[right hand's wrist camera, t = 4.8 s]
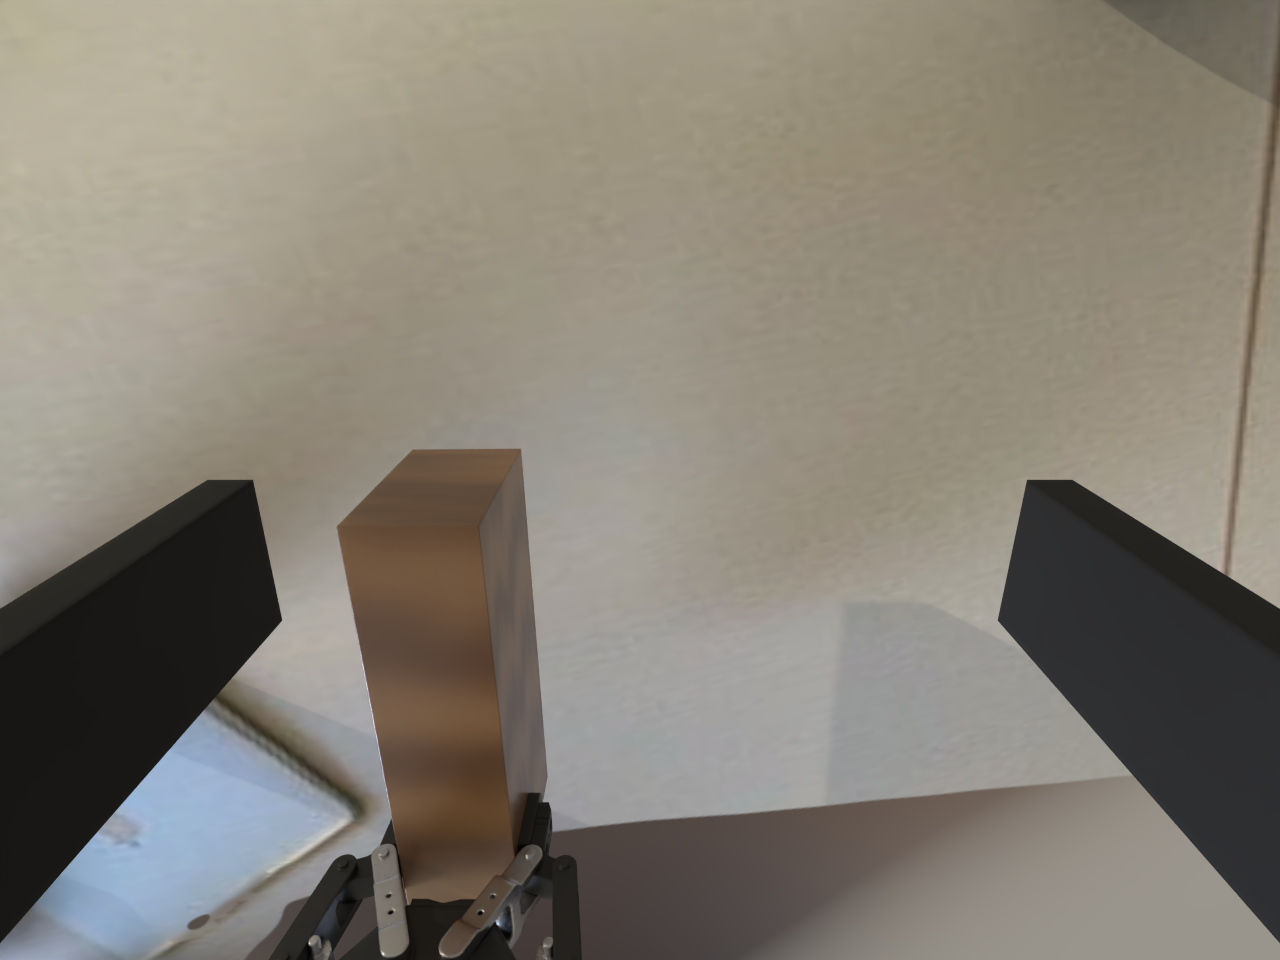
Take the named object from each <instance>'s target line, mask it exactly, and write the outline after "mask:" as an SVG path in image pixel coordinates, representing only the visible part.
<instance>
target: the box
mask: <svg viewBox="0 0 1280 960" xmlns="http://www.w3.org/2000/svg"><path fill="white" fill-rule="evenodd" d="M337 531H338V536H339V542H340V547H341V552H342V557H343V563H344V568H345V573H346V579H347V584H348V589H349V595H350V600H351V605H352V610H353V616H354V621H355V626H356V632H357V637H358V642H359V648H360V653H361V658H362V663H363V669H364V674H365V679H366V685H367V690H368V695H369V701H370V706H371V711H372V716H373V722H374V727H375V732H376V738H377V743H378V748H379V754H380V759H381V764H382V769H383V775H384V780H385V785H386V791H387V796H388V801H389V807H390V812H391V817H392V823H393V828H394V833H395V838H396V844H397V849H398V854H399V860H400V865H401V870H402V876H403V881H404V886H405V891H406V897H407V902H408V905H410V904H411V901H412V899H431V900H434V901H438V902H441V903H446V902H450V901H455V900H459V899H477V897H478V896H479V895H480V894H481V892H482V891H483V890H484V888H485V887H486V886H487V885H488V883H489V882H490V881H491V879H492V878H493V877H494V876H495V875H499V876H501V875H502V874H503V873H504V871H505V870H506V869H507V867H508V866H509V865H510V863H511V862H512V861H513V860H514V858H515V857H516V856H517V854H518V840H519V835H520V830H521V825H522V821H523V816H524V811H525V807H526V802H527V797H528V793H529V792H534V793H541V796H542V802H543V798H544V792H545V787H546V782H547V765H546V752H545V740H544V728H543V715H542V703H541V690H540V678H539V666H538V653H537V641H536V629H535V616H534V604H533V592H532V579H531V567H530V555H529V542H528V530H527V517H526V505H525V493H524V480H523V468H522V456H521V449H448V450H412V451H411V452H410V453H409V454H408V455H407V456H406V457H405V458H404V459H403V460H402V461H401V462H400V463H399V464H398V465H397V466H396V467H395V468H394V469H393V470H392V471H391V472H390V473H389V474H388V475H387V476H386V477H385V478H384V479H383V480H382V481H381V482H380V483H379V484H378V485H377V486H376V487H375V488H374V490H373V491H372V492H371V493H370V494H369V495H368V496H367V497H366V498H365V499H364V500H363V501H362V502H361V503H360V504H359V505H358V506H357V507H356V508H355V509H354V510H353V511H352V512H351V513H350V514H349V515H348V516H347V517H346V518H345V519H344V520H343V521H342V522H341V523H340V524H339V525H338V526H337Z"/></svg>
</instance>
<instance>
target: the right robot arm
mask: <svg viewBox="0 0 1280 960" xmlns="http://www.w3.org/2000/svg"><path fill="white" fill-rule="evenodd" d="M281 621H282V617H281V612H280V608H279V603H278V598H277V593H276V588H275V584H274V579H273V574H272V569H271V565H270V560H269V555H268V550H267V545H266V541H265V536H264V531H263V526H262V521H261V517H260V512H259V507H258V502H257V497H256V493H255V488H254V483H253V480H207V481H205V482H204V483H202V484H200V485H199V486H197V487H196V488H194V489H192V490H191V491H189V492H187V493H186V494H184V495H183V496H181V497H179V498H178V499H176V500H175V501H173V502H171V503H170V504H168V505H167V506H165V507H163V508H162V509H160V510H159V511H157V512H155V513H154V514H152V515H150V516H149V517H147V518H146V519H144V520H142V521H141V522H139V523H138V524H136V525H134V526H133V527H131V528H130V529H128V530H126V531H125V532H123V533H122V534H120V535H118V536H117V537H115V538H113V539H112V540H110V541H109V542H107V543H105V544H104V545H102V546H101V547H99V548H97V549H96V550H94V551H93V552H91V553H89V554H88V555H86V556H85V557H83V558H81V559H80V560H78V561H77V562H75V563H73V564H72V565H70V566H68V567H67V568H65V569H64V570H62V571H60V572H59V573H57V574H56V575H54V576H52V577H51V578H49V579H48V580H46V581H44V582H43V583H41V584H40V585H38V586H36V587H35V588H33V589H31V590H30V591H28V592H27V593H25V594H23V595H22V596H20V597H19V598H17V599H15V600H14V601H12V602H11V603H9V604H7V605H6V606H4V607H3V608H1V609H0V943H1V941H2V940H3V939H4V938H5V937H6V936H7V935H8V933H9V932H10V931H11V930H12V929H13V928H14V927H15V925H16V924H17V923H18V922H19V921H20V920H21V919H22V917H23V916H24V915H25V914H26V913H27V912H28V911H29V909H30V908H31V907H32V906H33V905H34V904H35V903H36V901H37V900H38V899H39V898H40V897H41V896H42V895H43V893H44V892H45V891H46V890H47V889H48V888H49V887H50V885H51V884H52V883H53V882H54V881H55V880H56V879H57V877H58V876H59V875H60V874H61V873H62V872H63V871H64V869H65V868H66V867H67V866H68V865H69V864H70V863H71V861H72V860H73V859H74V858H75V857H76V856H77V855H78V853H79V852H80V851H81V850H82V849H83V848H84V847H85V845H86V844H87V843H88V842H89V841H90V840H91V839H92V837H93V836H94V835H95V834H96V833H97V832H98V831H99V829H100V828H101V827H102V826H103V825H104V824H105V823H106V821H107V820H108V819H109V818H110V817H111V816H112V815H113V813H114V812H115V811H116V810H117V809H118V808H119V807H120V805H121V804H122V803H123V802H124V801H125V800H126V799H127V797H128V796H129V795H130V794H131V793H132V792H133V791H134V789H135V788H136V787H137V786H138V785H139V784H140V782H141V781H142V780H143V779H144V778H145V777H146V776H147V774H148V773H149V772H150V771H151V770H152V769H153V768H154V766H155V765H156V764H157V763H158V762H159V761H160V760H161V758H162V757H163V756H164V755H165V754H166V753H167V752H168V750H169V749H170V748H171V747H172V746H173V745H174V744H175V742H176V741H177V740H178V739H179V738H180V737H181V736H182V734H183V733H184V732H185V731H186V730H187V729H188V728H189V726H190V725H191V724H192V723H193V722H194V721H195V720H196V718H197V717H198V716H199V715H200V714H201V713H202V712H203V710H204V709H205V708H206V707H207V706H208V705H209V704H210V702H211V701H212V700H213V699H214V698H215V697H216V696H217V694H218V693H219V692H220V691H221V690H222V689H223V688H224V686H225V685H226V684H227V683H228V682H229V681H230V680H231V678H232V677H233V676H234V675H235V674H236V673H237V672H238V670H239V669H240V668H241V667H242V666H243V665H244V664H245V662H246V661H247V660H248V659H249V658H250V657H251V656H252V654H253V653H254V652H255V651H256V650H257V649H258V648H259V646H260V645H261V644H262V643H263V642H264V641H265V640H266V638H267V637H268V636H269V635H270V634H271V633H272V632H273V630H274V629H275V628H276V627H277V626H278V625H279V624H280V622H281ZM998 621H999V622H1000V624H1001V625H1002V626H1003V627H1004V628H1005V629H1006V630H1007V632H1008V633H1009V634H1010V635H1011V636H1012V637H1013V638H1014V640H1015V641H1016V642H1017V643H1018V644H1019V645H1020V646H1021V648H1022V649H1023V650H1024V651H1025V652H1026V653H1027V654H1028V656H1029V657H1030V658H1031V659H1032V660H1033V661H1034V662H1035V664H1036V665H1037V666H1038V667H1039V668H1040V669H1041V670H1042V672H1043V673H1044V674H1045V675H1046V676H1047V677H1048V678H1049V680H1050V681H1051V682H1052V683H1053V684H1054V685H1055V686H1056V688H1057V689H1058V690H1059V691H1060V692H1061V693H1062V694H1063V696H1064V697H1065V698H1066V699H1067V700H1068V701H1069V702H1070V704H1071V705H1072V706H1073V707H1074V708H1075V709H1076V710H1077V712H1078V713H1079V714H1080V715H1081V716H1082V717H1083V718H1084V720H1085V721H1086V722H1087V723H1088V724H1089V725H1090V726H1091V728H1092V729H1093V730H1094V731H1095V732H1096V733H1097V734H1098V736H1099V737H1100V738H1101V739H1102V740H1103V741H1104V742H1105V744H1106V745H1107V746H1108V747H1109V748H1110V749H1111V750H1112V752H1113V753H1114V754H1115V755H1116V756H1117V757H1118V758H1119V760H1120V761H1121V762H1122V763H1123V764H1124V765H1125V766H1126V768H1127V769H1128V770H1129V771H1130V772H1131V773H1132V774H1133V776H1134V777H1135V778H1136V779H1137V780H1138V781H1139V782H1140V784H1141V785H1142V786H1143V787H1144V788H1145V789H1146V791H1147V792H1148V793H1149V794H1150V795H1151V796H1152V797H1153V799H1154V800H1155V801H1156V802H1157V803H1158V804H1159V805H1160V807H1161V808H1162V809H1163V810H1164V811H1165V812H1166V813H1167V814H1168V816H1169V817H1170V818H1171V819H1172V820H1173V821H1174V822H1175V824H1176V825H1177V826H1178V827H1179V828H1180V829H1181V831H1182V832H1183V833H1184V834H1185V835H1186V836H1187V837H1188V839H1189V840H1190V841H1191V842H1192V843H1193V844H1194V845H1195V847H1196V848H1197V849H1198V850H1199V851H1200V852H1201V853H1202V855H1203V856H1204V857H1205V858H1206V859H1207V860H1208V861H1209V863H1210V864H1211V865H1212V866H1213V867H1214V868H1215V869H1216V871H1217V872H1218V873H1219V874H1220V875H1221V876H1222V877H1223V879H1224V880H1225V881H1226V882H1227V883H1228V884H1229V885H1230V887H1231V888H1232V889H1233V890H1234V891H1235V892H1236V893H1237V895H1238V896H1239V897H1240V898H1241V899H1242V900H1243V901H1244V903H1245V904H1246V905H1247V906H1248V907H1249V908H1250V909H1251V911H1252V912H1253V913H1254V914H1255V915H1256V916H1257V917H1258V919H1259V920H1260V921H1261V922H1262V923H1263V924H1264V925H1265V927H1266V928H1267V929H1268V930H1269V931H1270V932H1271V933H1272V935H1273V936H1274V937H1275V938H1276V939H1277V940H1278V941H1279V943H1280V609H1279V608H1277V607H1276V606H1274V605H1273V604H1271V603H1269V602H1268V601H1266V600H1265V599H1263V598H1261V597H1260V596H1258V595H1257V594H1255V593H1253V592H1252V591H1250V590H1249V589H1247V588H1245V587H1244V586H1242V585H1240V584H1239V583H1237V582H1236V581H1234V580H1232V579H1231V578H1229V577H1228V576H1226V575H1224V574H1223V573H1221V572H1220V571H1218V570H1216V569H1215V568H1213V567H1212V566H1210V565H1208V564H1207V563H1205V562H1203V561H1202V560H1200V559H1199V558H1197V557H1195V556H1194V555H1192V554H1191V553H1189V552H1187V551H1186V550H1184V549H1183V548H1181V547H1179V546H1178V545H1176V544H1175V543H1173V542H1171V541H1170V540H1168V539H1167V538H1165V537H1163V536H1162V535H1160V534H1158V533H1157V532H1155V531H1154V530H1152V529H1150V528H1149V527H1147V526H1146V525H1144V524H1142V523H1141V522H1139V521H1138V520H1136V519H1134V518H1133V517H1131V516H1130V515H1128V514H1126V513H1125V512H1123V511H1121V510H1120V509H1118V508H1117V507H1115V506H1113V505H1112V504H1110V503H1109V502H1107V501H1105V500H1104V499H1102V498H1101V497H1099V496H1097V495H1096V494H1094V493H1093V492H1091V491H1089V490H1088V489H1086V488H1084V487H1083V486H1081V485H1080V484H1078V483H1076V482H1075V481H1073V480H1027V483H1026V488H1025V493H1024V497H1023V502H1022V507H1021V512H1020V517H1019V521H1018V526H1017V531H1016V536H1015V541H1014V545H1013V550H1012V555H1011V560H1010V564H1009V569H1008V574H1007V579H1006V584H1005V588H1004V593H1003V598H1002V603H1001V608H1000V612H999V617H998Z"/></svg>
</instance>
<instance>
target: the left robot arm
mask: <svg viewBox="0 0 1280 960" xmlns="http://www.w3.org/2000/svg"><path fill="white" fill-rule="evenodd" d="M551 835H552V816H551V808H550V805H549V802H542V796H541V793H534V792H529V793H528V797H527V802H526V807H525V811H524V816H523V821H522V825H521V830H520V835H519V840H518V854H517V856H516V857H515V858H514V860H513V861H512V862H511V863H510V865H509V866H508V867H507V869H506V870H505V871H504V873H503V874H502V875H501V876H499V875H495V876H494V877H493V878H492V879H491V881H490V882H489V883H488V885H487V886H486V887H485V888H484V890H483V891H482V892H481V894H480V895H479V896H478V897H477V899H459V900H455V901H450V902H446V903H441V902H438V901H434V900H431V899H412V901H411V904H410V905H407V906H406V903H405V897H404V890H403V884H402V870H401V865H400V860H399V854H398V849H397V844H396V838H395V833H394V828H393V823H392V819H391V821H390V824H389V826H388V828H387V830H386V833H385V835H384V837H383V840H382V842H381V844H380V846H379V847H377V848H376V849H375V850H374V851H373V853H372V854H371V855H369V856H367V857H363V858H360V859H356V858H355V857H354V856H353V855H349V854H347V855H343V856H340V857H338V858H337V859H336V860H335V861H334V862H333V863H332V864H331V866H330V867H329V869H328V871H327V872H326V874H325V875H324V877H323V878H322V880H321V881H320V883H319V884H318V886H317V887H316V889H315V890H314V892H313V893H312V895H311V896H310V898H309V899H308V901H307V902H306V904H305V905H304V907H303V908H302V910H301V912H300V913H299V915H298V916H297V918H296V919H295V921H294V922H293V924H292V925H291V927H290V928H289V930H288V931H287V933H286V934H285V936H284V937H283V939H282V940H281V942H280V943H279V945H278V946H277V948H276V949H275V951H274V953H273V954H272V955H271V957H270V959H269V960H334V955H333V950H334V948H335V947H336V945H337V943H338V942H339V940H340V938H341V937H342V935H343V933H344V931H345V930H346V928H347V926H348V925H349V923H350V921H351V919H352V917H353V916H354V914H355V912H356V911H357V909H358V907H359V906H360V904H361V902H362V900H363V898H367V897H370V896H374V895H375V904H376V913H377V922H378V926H377V927H376V928H375V929H374V930H373V931H372V932H371V933H369V934H368V935H367V936H366V937H365V938H364V939H362V940H361V941H360V942H359V943H358V944H357V945H356V946H354V947H353V948H352V949H351V950H350V951H349V952H348V953H346V954H345V955H344V956H343V957H342V958H341V959H340V960H516V959H515V957H514V955H513V953H512V951H511V949H512V947H513V946H514V944H515V943H516V941H517V940H518V939H519V937H520V935H521V933H522V930H523V926H524V923H525V920H526V919H527V917H528V916H529V914H530V913H531V911H532V910H533V908H534V907H535V905H536V904H537V902H538V901H539V900H540V898H541V897H543V898H545V899H548V900H551V901H553V938H552V937H547V938H545V939H544V941H543V943H542V944H541V945H540V946H539V947H538V949H537V952H536V957H535V960H582V954H581V935H580V915H579V896H578V883H577V865H576V861H575V859H574V858H573V857H571V856H568V855H563V856H560V857H558V858H556V859H555V858H552V857H550V856H549V855H548V853H549V847H550V841H551Z"/></svg>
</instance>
